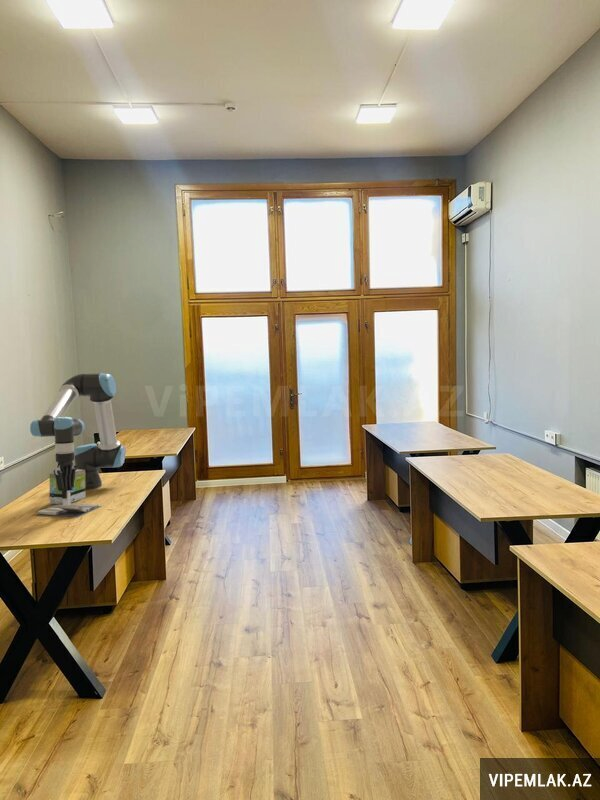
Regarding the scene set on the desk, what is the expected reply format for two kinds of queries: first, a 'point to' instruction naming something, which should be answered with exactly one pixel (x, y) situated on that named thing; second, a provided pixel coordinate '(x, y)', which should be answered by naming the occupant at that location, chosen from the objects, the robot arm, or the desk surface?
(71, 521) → the desk surface
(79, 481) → the tea box
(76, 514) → the grey framed panel
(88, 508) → the laid board
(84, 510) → the plank
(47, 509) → the plank
